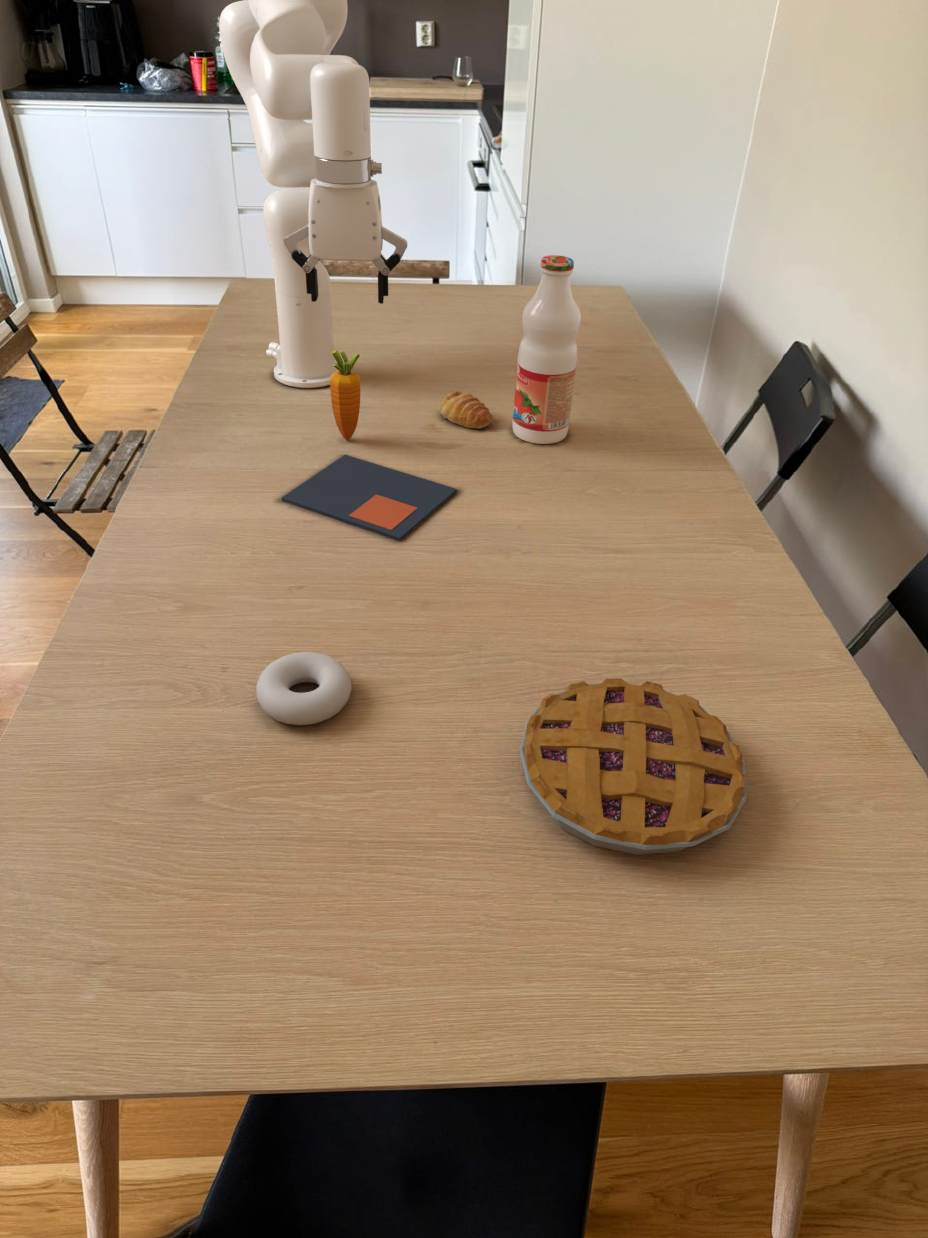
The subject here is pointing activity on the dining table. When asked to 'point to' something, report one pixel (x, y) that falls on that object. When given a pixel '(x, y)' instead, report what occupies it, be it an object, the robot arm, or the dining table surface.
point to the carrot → (345, 394)
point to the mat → (370, 496)
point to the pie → (633, 766)
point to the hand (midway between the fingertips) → (348, 299)
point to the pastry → (465, 410)
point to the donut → (309, 704)
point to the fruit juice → (547, 357)
